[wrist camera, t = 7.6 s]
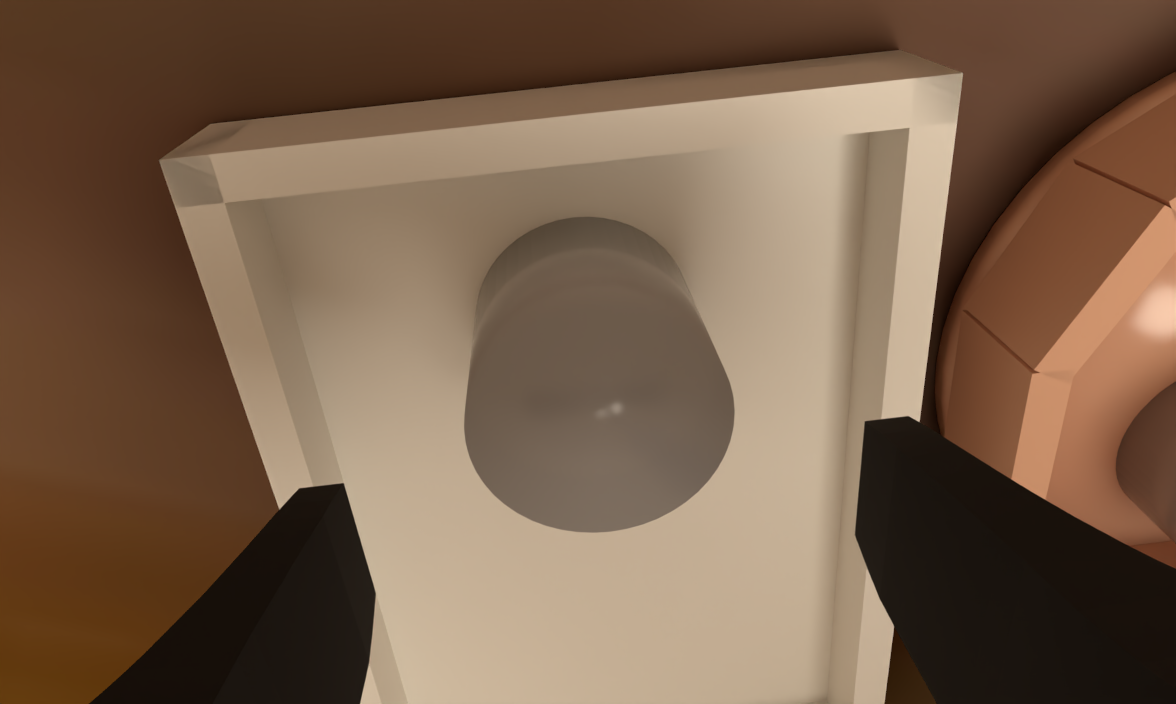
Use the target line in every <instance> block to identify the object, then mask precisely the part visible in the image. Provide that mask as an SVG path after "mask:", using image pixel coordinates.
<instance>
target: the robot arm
mask: <svg viewBox="0 0 1176 704" xmlns="http://www.w3.org/2000/svg"><path fill="white" fill-rule="evenodd" d="M855 537H856V540H857V542H858V545H859V548H860V550H861V553H862V556H863V558H864V561H865V564H866V566H867V569H868V572H869V574H870V576H871V579H872V581H873V584H874V586H875V589H876V591H877V594H878V596H879V599H880V601H881V602H882V604H883V606H884V608H885V610H886V612H887V614H888V616H889V617H890V619H891V621H892V623H893V625H894V627H895V628H896V630H897V632H898V634H899V636H900V638H901V639H902V641H903V643H904V645H905V647H906V649H907V650H908V652H909V654H910V656H911V658H912V659H913V661H914V663H915V665H916V667H917V668H918V670H919V672H920V674H921V676H922V677H923V679H924V681H925V683H926V685H927V686H928V688H929V690H930V692H931V694H932V695H933V697H934V699H935V701H936V703H937V704H1176V569H1175V568H1173V567H1171V566H1169V565H1167V564H1165V563H1163V562H1160V561H1158V560H1156V559H1154V558H1152V557H1150V556H1148V555H1146V554H1144V553H1142V552H1140V551H1138V550H1136V549H1134V548H1132V547H1130V546H1128V545H1126V544H1124V543H1122V542H1120V541H1119V540H1117V539H1115V538H1113V537H1111V536H1109V535H1108V534H1106V533H1104V532H1102V531H1100V530H1098V529H1096V528H1095V527H1093V526H1091V525H1089V524H1087V523H1085V522H1084V521H1082V520H1080V519H1078V518H1076V517H1074V516H1073V515H1071V514H1069V513H1067V512H1066V511H1064V510H1062V509H1060V508H1059V507H1057V506H1055V505H1053V504H1052V503H1050V502H1048V501H1047V500H1045V499H1043V498H1041V497H1040V496H1038V495H1036V494H1035V493H1033V492H1031V491H1030V490H1028V489H1026V488H1025V487H1023V486H1021V485H1020V484H1018V483H1016V482H1015V481H1013V480H1012V479H1010V478H1008V477H1007V476H1005V475H1003V474H1002V473H1000V472H999V471H997V470H995V469H994V468H992V467H991V466H989V465H987V464H986V463H984V462H983V461H981V460H979V459H978V458H976V457H975V456H973V455H972V454H970V453H968V452H967V451H965V450H964V449H962V448H960V447H959V446H957V445H956V444H954V443H952V442H951V441H949V440H948V439H946V438H945V437H943V436H941V435H940V434H938V433H937V432H935V431H933V430H932V429H930V428H928V427H927V426H925V425H923V424H922V423H920V422H918V421H916V420H915V419H913V418H911V417H909V416H904V417H895V418H887V419H879V420H870V421H865V424H864V435H863V446H862V458H861V469H860V480H859V492H858V503H857V515H856V526H855ZM375 599H376V592H375V588H374V585H373V581H372V578H371V574H370V571H369V568H368V564H367V561H366V557H365V554H364V551H363V547H362V544H361V540H360V537H359V533H358V530H357V527H356V523H355V520H354V516H353V513H352V510H351V506H350V503H349V499H348V496H347V492H346V489H345V486H344V483H340V484H331V485H323V486H314V487H306V488H299V489H298V490H297V491H296V492H295V493H294V494H293V495H292V496H291V497H290V499H289V500H288V501H287V502H286V503H285V504H284V505H283V506H282V507H281V509H280V510H279V511H278V512H277V513H276V514H275V515H274V516H273V518H272V519H271V520H270V521H269V522H268V523H267V524H266V526H265V527H264V528H263V529H262V530H261V531H260V532H259V534H258V535H257V536H256V537H255V538H254V539H253V540H252V541H251V543H250V544H249V545H248V546H247V547H246V548H245V549H244V550H243V552H242V553H241V554H240V555H239V556H238V557H237V558H236V559H235V560H234V561H233V563H232V564H231V565H230V566H229V567H228V568H227V569H226V570H225V571H224V572H223V574H222V575H221V576H220V577H219V578H218V579H217V580H216V581H215V582H214V583H213V584H212V586H211V587H210V588H209V589H208V590H207V591H206V592H205V593H204V594H203V595H202V596H201V597H200V598H199V599H198V600H197V601H196V602H195V603H194V604H193V605H192V606H191V607H190V608H189V610H188V611H187V612H186V613H185V614H184V615H183V616H182V617H181V618H180V619H179V620H178V621H177V622H176V623H175V624H174V625H173V626H172V627H171V628H170V629H169V630H168V631H167V632H166V633H165V634H164V635H163V636H162V637H161V638H160V639H159V640H158V641H157V642H156V643H155V644H154V645H153V646H152V647H151V648H150V649H149V650H148V651H147V652H146V653H145V654H144V655H143V656H142V657H141V658H139V659H138V660H137V661H136V662H135V663H134V664H133V665H132V666H131V667H130V668H129V669H128V670H127V671H126V672H124V673H123V674H122V675H121V676H120V677H119V678H118V679H117V680H116V681H115V682H113V683H112V684H111V685H110V686H109V687H108V688H107V689H106V690H105V691H103V692H102V693H101V694H100V695H99V696H98V697H96V698H95V699H94V700H93V701H92V702H91V703H89V704H360V702H361V697H362V693H363V689H364V684H365V680H366V675H367V670H368V666H369V660H370V651H371V642H372V633H373V622H374V611H375Z"/></svg>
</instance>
